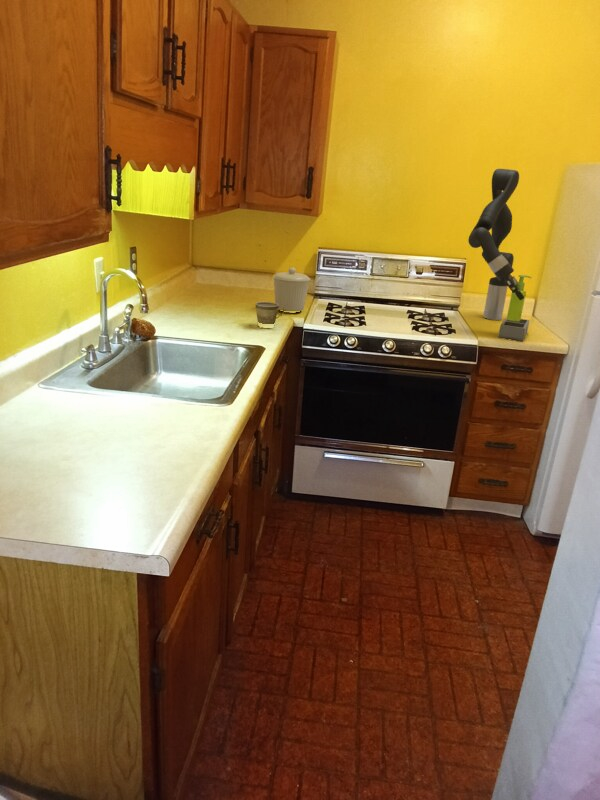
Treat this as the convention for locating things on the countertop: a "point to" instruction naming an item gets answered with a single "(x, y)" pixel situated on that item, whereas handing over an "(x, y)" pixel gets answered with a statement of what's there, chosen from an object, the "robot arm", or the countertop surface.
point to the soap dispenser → (517, 302)
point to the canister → (291, 290)
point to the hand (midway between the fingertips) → (523, 297)
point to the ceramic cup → (267, 312)
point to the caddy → (514, 329)
